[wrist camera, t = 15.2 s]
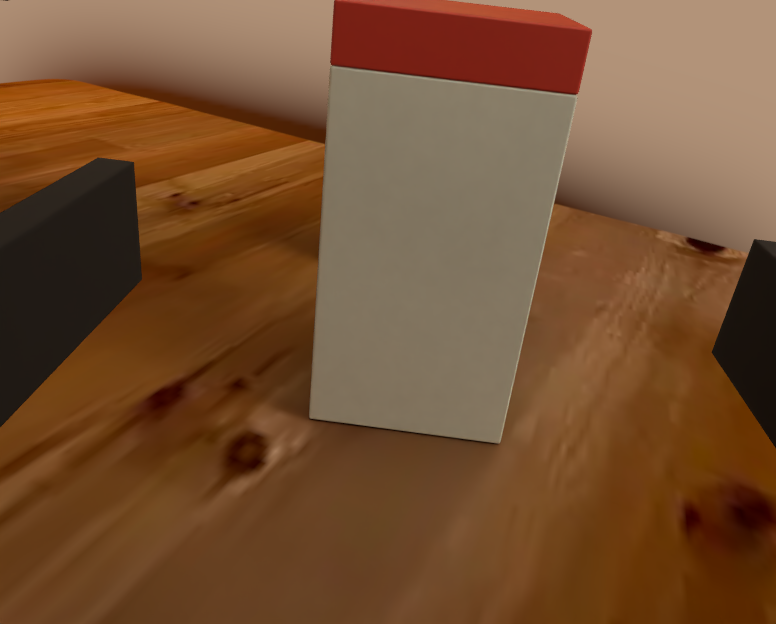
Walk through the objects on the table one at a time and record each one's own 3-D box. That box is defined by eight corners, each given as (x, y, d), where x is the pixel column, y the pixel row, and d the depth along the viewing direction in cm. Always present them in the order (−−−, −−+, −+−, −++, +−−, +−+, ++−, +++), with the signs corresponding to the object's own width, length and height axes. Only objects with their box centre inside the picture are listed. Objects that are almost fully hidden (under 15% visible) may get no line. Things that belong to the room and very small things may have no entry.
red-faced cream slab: (483, 455, 27) (575, 391, 14) (317, 433, 27) (267, 351, 14) (508, 161, 31) (598, -90, 18) (364, 143, 31) (355, -117, 18)
